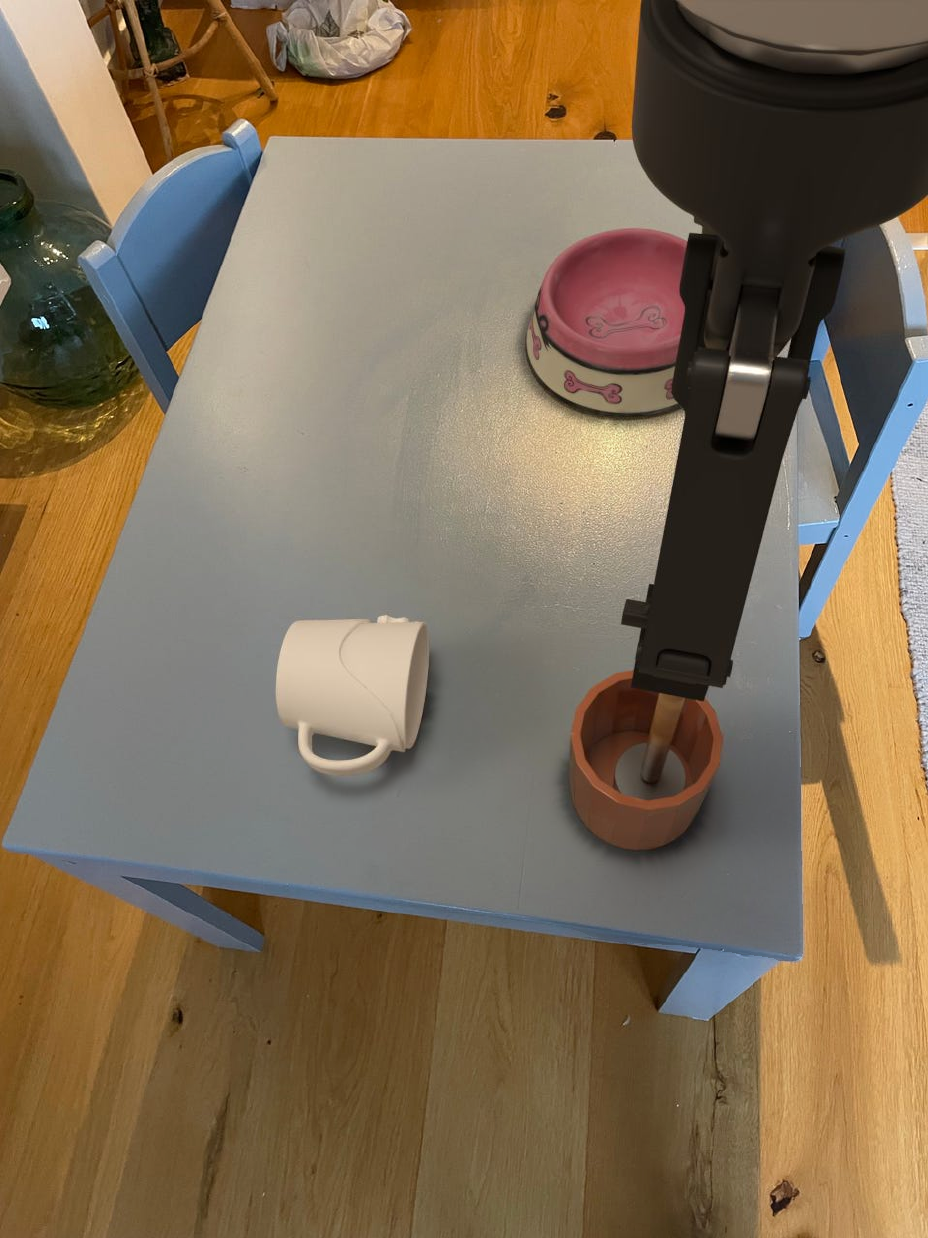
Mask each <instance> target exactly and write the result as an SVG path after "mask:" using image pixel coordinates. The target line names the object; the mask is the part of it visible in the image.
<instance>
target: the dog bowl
mask: <svg viewBox="0 0 928 1238" xmlns="http://www.w3.org/2000/svg"><path fill="white" fill-rule="evenodd" d="M687 241H688V240H686V239H685V238H681V237H679V236H678V235H674V234H671V233H670V232H669V233H668V232H665V231H661V230H656V229H649V228H639V227H637V228H636V227H631V228H630V227H627V228H618V229H611V230H607V231H602V232H599V233H594V234H592V235H590V236H587V237H584V238H583V239H581V240H578V241H577V242H575V243H573V244H571V245H570V246H568V247H566V249H565V250H563V251H562V252H560V254H558V256H557V257H556V258H555V259H554V260H553V261H552V263H551V264H550V266H549V267H548V269H547V271H545V272H546V273H545V274H544V277H543V280H542V283H541V285H540V286H539V287H540V288H539V289H538V292H537V296H536V299H535V304H534V310H533V313H532V316H531V319H530V321H529V324H528V327H527V330H526V333H525V342H524V343H525V344H524V348H525V355H526V360H527V363H528V365H529V368H530V369H529V370H530V371H531V372H532V375H533V376H534V378H535V380H536V381H537V382H538V384H539V385H540V386H541V387H542V388H543V389H544V390H545V391H546V392H548V394H550V396H552V397H553V398H555V399H556V400H558V401H560V402H561V403H563V404H565V405H567V406H569V407H570V408H573V409H575V410H578V411H581V412H584V413H587V414H590V415H595V416H599V417H605V418H613V419H614V418H615V419H619V418H620V419H633V418H642V417H651V416H656V415H660V414H663V413H667V412H670V411H673V410H676V409H678V408H680V407H682V406H681V405H680V404H678V403H677V402H676V401H675V400H674V398H673V395H672V381H673V375H674V370H675V364H676V358H677V353H678V347H679V341H680V336H681V330H682V324H683V319H684V313H685V305H684V303H683V301H682V299H681V297H680V291H679V286H680V280H681V274H682V269H683V263H684V257H685V252H686V246H687Z"/></svg>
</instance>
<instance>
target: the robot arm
mask: <svg viewBox="0 0 928 1238" xmlns="http://www.w3.org/2000/svg"><path fill="white" fill-rule="evenodd" d="M633 88H634V89H633V100H632V101H633V103H632V114H631V115H632V116H631V135H632V136H631V138H632V143H633V148H634V151H635V154H636V155H635V156H636V157H637V160H638V162H639V165H640V168H641V169H642V170H643V172H644V173H645V175H646V176H647V178H648V180H649V181H650V182H651V183H652V185H653V186H654V187H655V188H656V190H658V192H659V193H660V194H662V195H663V196H664V197H665V198H666V199H667V200H668V201H670V202H671V203H672V204H673V205H675V206H676V207H677V208H679V209H680V210H682V211H683V212H685V213H687V214H689V215H690V216H693V223H694V224H696V225H699V226H700V227H701V233H698V232H689V233H688V237H687V240H686V241H687V246H686V252H685V257H684V263H683V269H682V274H681V280H680V286H679V291H680V297H681V299H682V301H683V303H684V305H685V313H684V319H683V324H682V330H681V336H680V341H679V347H678V353H677V358H676V364H675V370H674V375H673V381H672V395H673V398H674V400H675V401H676V402H677V403H678V404H680V405H681V406H680V407H681V408H683V409H682V410H683V411H684V420H683V425H682V430H681V436H680V441H679V446H678V452H677V457H676V462H675V467H674V474H673V479H672V483H671V490H670V495H669V500H668V505H667V511H666V517H665V522H664V527H663V533H662V538H661V544H660V549H659V553H658V560H657V564H656V571H655V576H654V581H653V583H648V587H647V593H646V598H645V601H641V600H636V599H631V598H626V599H625V602H624V606H623V611H622V615H621V621H620V625H622V626H627V627H633V628H637V629H640V631H639V638H638V642H637V647H636V651H635V657H634V666H633V670H634V671H633V677H632V683H631V688H636V689H641V690H647V691H652V692H657V693H662V694H667V695H672V696H677V697H683V698H688V699H693V700H698V701H703V702H704V699H706V696H707V694H708V690H709V687H713V688H720V689H723V688H724V686H726V685H727V680H728V678H731V675H732V671H733V666H734V660H733V659H732V656H733V651H734V649H735V648H734V647H735V644H736V640H737V635H738V633H739V628H740V624H741V621H742V616H743V612H744V609H745V606H746V601H747V597H748V593H749V590H750V585H751V583H752V578H753V574H754V570H755V567H756V563H757V560H758V555H759V551H760V547H761V543H762V539H763V536H764V531H765V529H766V524H767V520H768V517H769V512H770V508H771V505H772V502H773V501H772V500H773V496H774V493H775V489H776V485H777V481H778V477H779V474H780V470H781V466H782V462H783V458H784V455H785V452H786V448H787V445H788V444H789V443H788V442H789V441H790V440H789V439H790V436H791V433H792V430H793V426H794V423H795V420H796V417H797V414H798V412H799V408H800V406H801V404H802V402H803V400H807V398H808V396H809V392H810V387H811V383H812V382H811V381H812V377H811V376H809V372H810V366H811V362H812V356H813V352H814V349H815V344H816V340H817V335H818V330H819V327H820V324H821V322H822V321H823V320H824V319H825V318H826V317H827V316H828V315H829V314H830V313H831V312H832V310H833V308H834V306H835V303H836V298H837V295H838V290H839V286H840V282H841V277H842V273H843V268H844V264H845V258H846V248H845V247H841V246H840V247H839V246H831V245H833V244H835V243H837V242H839V241H841V240H844V239H846V238H849V237H852V236H854V235H857V234H858V233H861V232H865V231H867V230H871V229H873V228H876V227H878V226H881V225H883V224H886V223H888V222H891V221H892V220H894V219H896V218H898V217H900V216H902V215H903V214H905V213H907V212H908V211H909V210H911V209H912V208H914V207H916V206H917V205H918V204H919V203H921V202H922V201H923V200H924V199H926V198H927V197H928V0H640V7H639V22H638V36H637V48H636V61H635V74H634V87H633ZM789 342H790V343H789ZM788 343H789V347H788V351H787V354H786V355H787V356H786V357H785V356H780V354H781V353H782V351H783V350H784V348H785V347H786V346H787V345H788Z"/></svg>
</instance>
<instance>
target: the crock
mask: <svg viewBox="0 0 928 1238" xmlns="http://www.w3.org/2000/svg"><path fill="white" fill-rule="evenodd" d="M633 671H634V669H631V670H626V671H625V670H624V671H619V672H615V673H613V674H611V675H610V676H608V677H606V678H605V679H603V680H601V681H600V682H597V683H596V684H594V685H593V686H592V687H590V689H589V691H587V693H586V694H585V696H584V697H583V698H582V700H581V701H580V703H579V704H578V705H577V707H576V708H575V713H574V717H573V721H572V726H571V731H570V743H569V744H570V745H569V771H568V785H569V790H570V798H571V802H572V805H573V808H574V809H575V811H576V814H577V815H578V817H579V819H580V821H582V823H583V824H584V826H585V827H586V828H587V829H588V830H589V831H590V832H591V833H592V834H594V835H595V836H596V837H597V838H599V839H601V840H602V841H604V842H605V843H607V844H610V845H611V846H614V847H618V848H621V849H623V850H624V849H625V850H631V851H647V850H653V849H657V848H660V847H663V846H665V845H668V844H670V843H671V842H673V841H675V840H676V839H678V838H679V837H680V836H681V835H682V834H684V833H685V832H686V831H687V830H688V828H689V827H690V825H691V824H692V822H693V820H694V819H695V817H696V815H697V814H698V813H699V811H700V809H701V806H702V804H703V802H704V800H705V798H706V796H707V793H708V791H709V789H710V787H711V785H712V783H713V781H714V778H715V777H716V774H717V773H718V770H719V767H720V765H721V758H722V751H723V745H724V735H723V733H722V730H721V726H720V722H719V718H718V715H717V712H716V710H715V709H714V707H713V706H712V704H711V703H710V702H709V701H708V700H707V698H705V699H704V702H703V701H698V700H693V699H688V698H685V700H684V703H683V706H682V710H681V713H680V716H679V719H678V723H677V726H676V729H675V732H674V736H673V739H672V742H671V745H670V750H672V751H673V752H674V753H675V754H676V755H677V756H678V757H679V759H680V760H681V762H682V764H683V766H684V769H685V773H686V784H685V788H684V790H683V791H682V792H680V793H679V794H677V795H676V796H672V797H666V798H660V799H654V800H645V799H640V798H635V797H631V796H626V795H622V794H621V793H619V792H618V791H616V790H615V789H613V778H614V772H615V767H616V763H617V761H618V759H619V758H620V756H621V755H622V754H623V752H624V751H626V750H627V749H628V748H630V747H632V746H634V745H636V744H640V743H647V742H648V738H649V734H650V730H651V726H652V722H653V717H654V713H655V709H656V705H657V701H658V697H659V693H657V692H652V691H647V690H641V689H636V688H631V683H632V677H633Z"/></svg>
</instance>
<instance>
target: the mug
mask: <svg viewBox="0 0 928 1238" xmlns="http://www.w3.org/2000/svg"><path fill="white" fill-rule="evenodd" d="M429 633H430V632H429V627H428V624H427V623H426V622H425V621H416V620H415V621H410V620H409V619H408V618H407V617H405V616H403V617H399V618H396V617H392V616H390V615H388V614H385V615H380V616H378V617H377V622H371V620H369V618H349V619H347V618H346V619H345V618H344V619H343V618H342V619H305V620H303V619H302V620H301V619H299V620H296V621H294V622H293V623H291V625H290V626H289V627H288V629H287V631H286V633H285V636H284V638H283V641H282V644H281V646H280V651H279V655H278V661H277V668H276V678H275V699H276V700H275V701H276V709H277V713H278V716H279V717H278V718H279V719H280V722H281V723H282V725H283V726H285V727H287V728H291V729H295V730H298V732H297V733H298V734H297V735H298V736H297V738H298V739H297V743H298V750H299V753H300V755H301V757H302V758H303V760H304V761H305V762H306V764H307V765H308V766H309V767H310V768H312V769H313V770H315V771H317V772H318V773H322V774H325V775H330V776H336V777H349V776H356V775H357V776H358V775H362V774H365V773H368V772H371V771H373V770H375V769H377V768H378V767H380V766H381V765H382V764H383V763H384V762H386V760H388V757H389V756H390V754H391V753H392V751H396V752H400V753H405V752H406V749H408V750H410V749H411V748H412V747H413V746H414V744H415V742H416V740H417V737H418V735H419V730H420V726H421V722H422V717H423V712H424V708H425V701H426V695H427V687H428V679H429V667H430V634H429ZM315 734H318V735H321V736H327V737H331V738H337V739H341V740H346V741H350V742H355V743H360V744H364V745H369V746H373V747H375V748H374V749H373V750H372V751H371V752H369V753H366V754H365V755H363V756H360V757H356V758H353V759H346V760H344V759H343V760H333V759H327V758H323V757H321V756H318V755H316V754H315V753H314V752H313V736H314V735H315Z"/></svg>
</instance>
